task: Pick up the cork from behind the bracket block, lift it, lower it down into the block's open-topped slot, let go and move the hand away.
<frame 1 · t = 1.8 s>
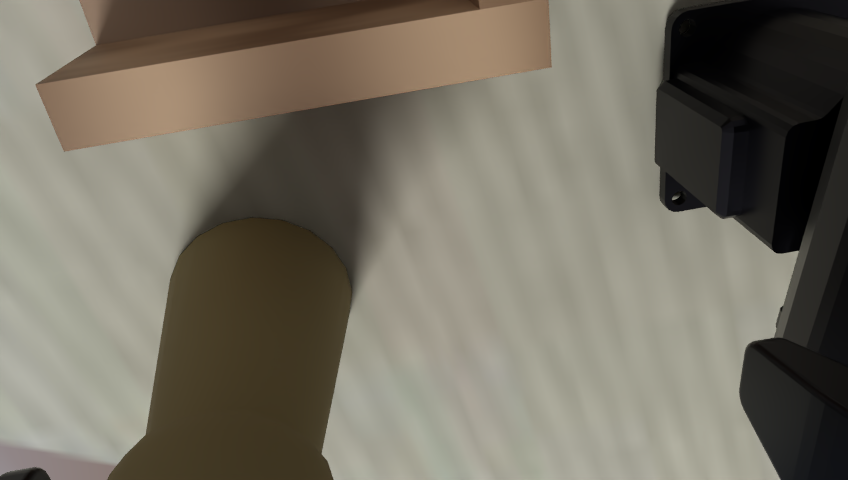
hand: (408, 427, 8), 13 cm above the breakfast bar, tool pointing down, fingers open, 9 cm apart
cork: (263, 294, 23), on the breakfast bar
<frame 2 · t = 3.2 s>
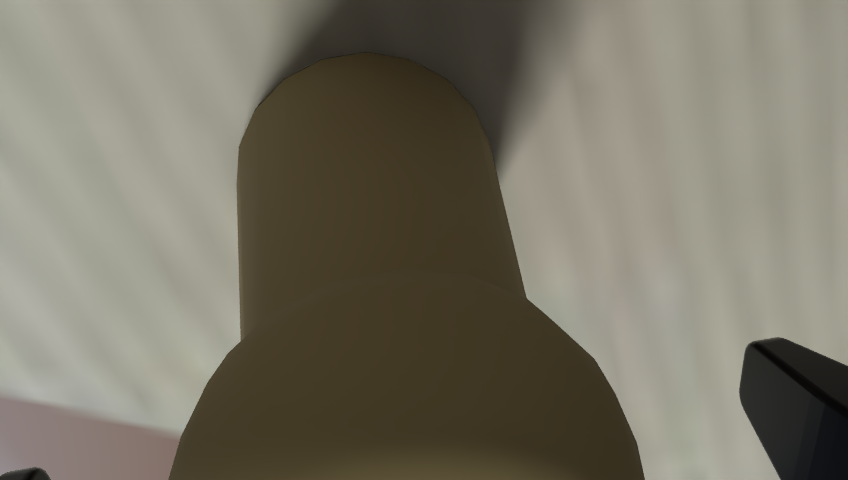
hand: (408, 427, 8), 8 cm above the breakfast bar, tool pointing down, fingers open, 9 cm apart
cork: (367, 178, 16), on the breakfast bar
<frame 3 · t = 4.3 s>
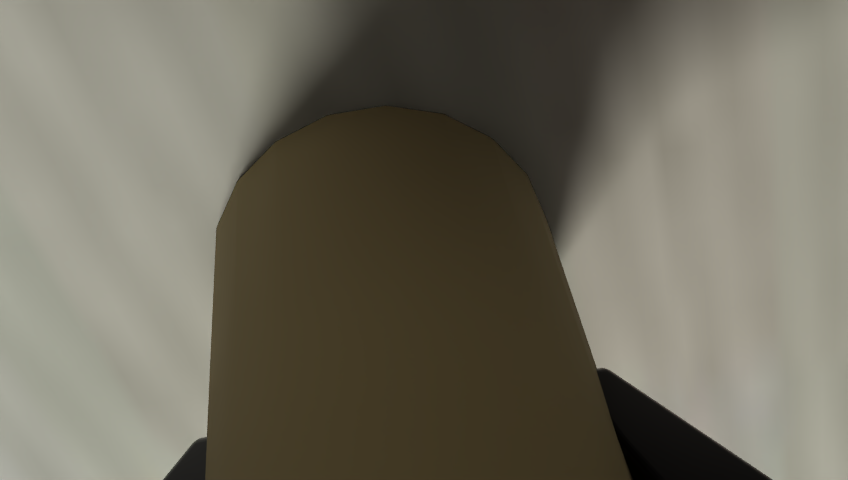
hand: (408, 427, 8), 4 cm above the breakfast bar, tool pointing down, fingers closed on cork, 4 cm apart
cork: (385, 263, 12), on the breakfast bar, touching gripper
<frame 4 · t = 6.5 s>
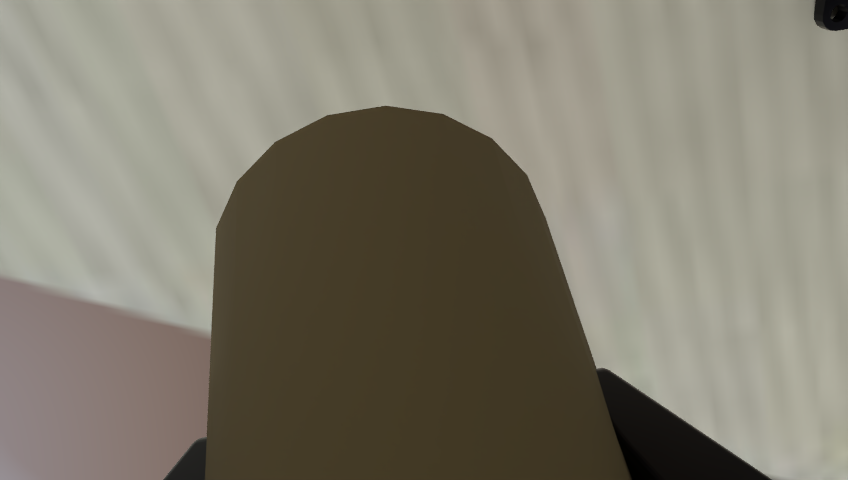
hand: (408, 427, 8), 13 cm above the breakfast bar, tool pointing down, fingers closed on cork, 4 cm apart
cork: (385, 263, 12), point 9 cm above the breakfast bar, touching gripper
when the fingers open (6 cm above the breakfast bar, at t = 9.0 s): cork drops 1 cm, resting on slot bracket.
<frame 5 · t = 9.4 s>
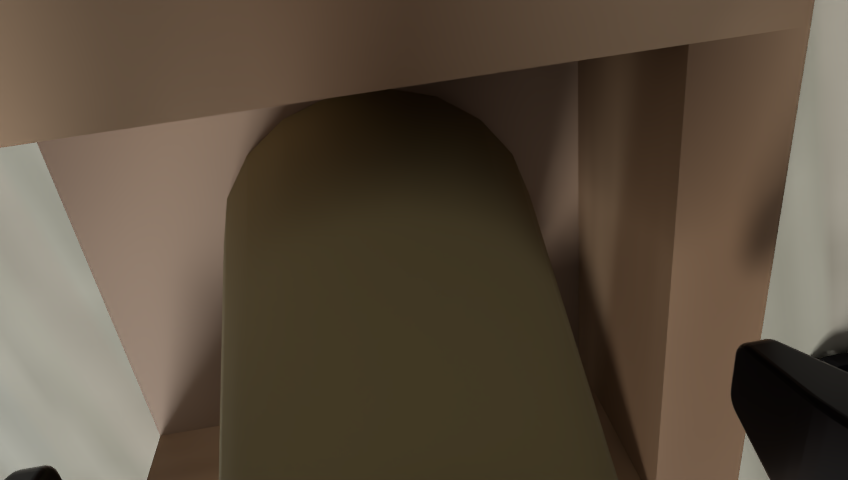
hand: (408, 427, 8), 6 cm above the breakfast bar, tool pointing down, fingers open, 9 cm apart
cork: (381, 235, 13), point 1 cm above the breakfast bar, touching slot bracket
slot bracket: (377, 220, 14), on the breakfast bar
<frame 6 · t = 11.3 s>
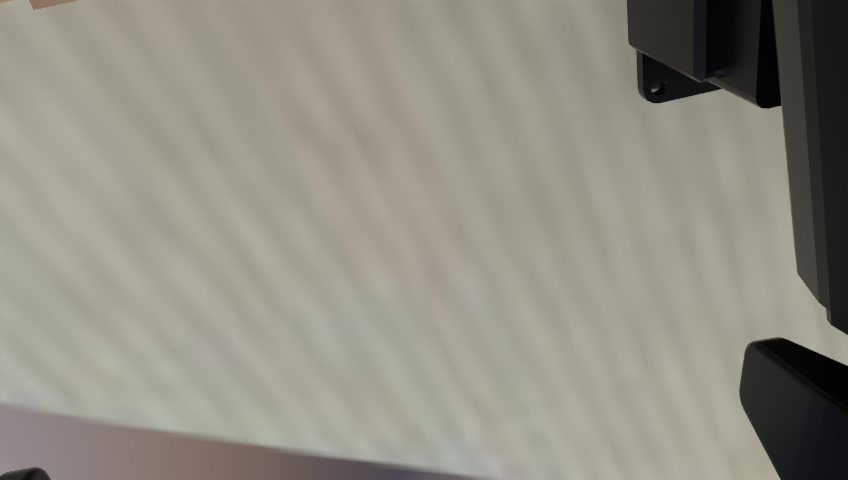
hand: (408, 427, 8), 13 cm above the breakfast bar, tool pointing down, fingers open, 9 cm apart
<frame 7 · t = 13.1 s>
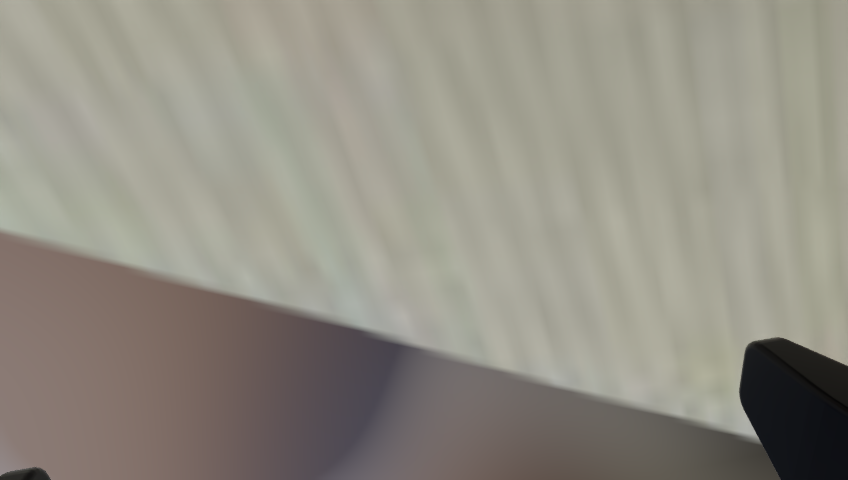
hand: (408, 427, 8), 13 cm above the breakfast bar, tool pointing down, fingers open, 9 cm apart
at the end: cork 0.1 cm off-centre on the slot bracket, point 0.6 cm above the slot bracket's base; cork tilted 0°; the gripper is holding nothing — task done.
